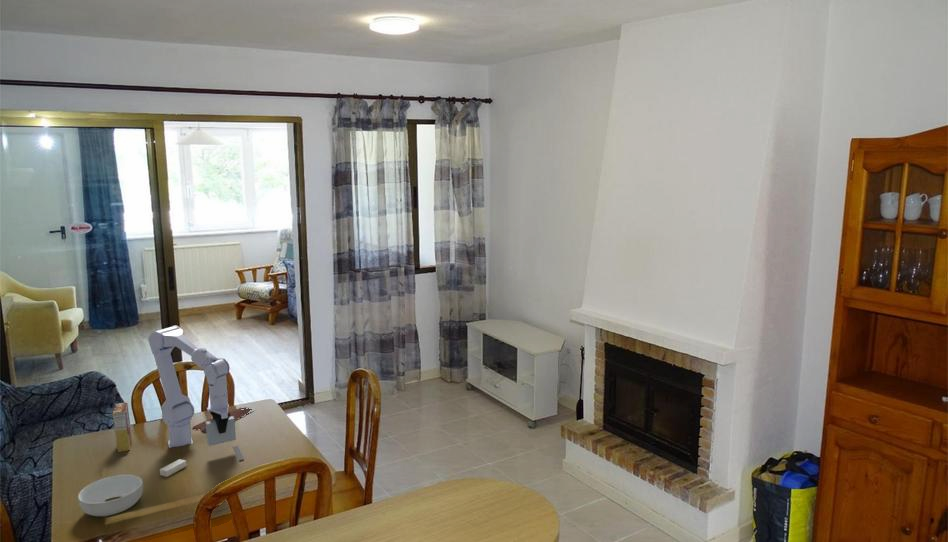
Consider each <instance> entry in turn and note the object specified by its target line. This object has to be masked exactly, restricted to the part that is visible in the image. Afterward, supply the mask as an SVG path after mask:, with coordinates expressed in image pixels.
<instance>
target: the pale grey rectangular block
mask: <svg viewBox="0 0 948 542" xmlns="http://www.w3.org/2000/svg"><path fill="white" fill-rule="evenodd" d="M206 421H207V420H206ZM206 432H207V433H206V441H207V445H208V447H211V446H215V445H220V444H224V443H228V442H232V441H233V442H234V441H236V440H237V437H236V433H237V432H236V421H235V418H234V417H233V416H231V417H229V419H228V422H227V428H226V432H225V433H221V434H219V432H218V428H217V424H216V421H215V420H212V421H207V422H206Z"/></svg>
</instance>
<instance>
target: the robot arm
mask: <svg viewBox="0 0 948 542" xmlns="http://www.w3.org/2000/svg"><path fill="white" fill-rule="evenodd" d="M147 340H148V343H149V347H150V350H151V354H152V355H153V358H154V360H155V364H156V368H157V372H158V374H159V378H160V381H161V385H162V388H163V392H164V395H165V401H164V402H163V403H162V405H161V407H160V409H161V413H162V414H161V418H162V421H163V423H164V424H165V425H166V426H167V427H168V433H169V434H168V438H169V439H168V441H167V445H168V448H176V447H183V446H186V445H190V444H193V443H194V441H193V438H192V430H191V429H192V428H191V421H192V417H194V415H195V406H194V405H193V404H192V402H191V399H190V397H188V396H186V395H184V394H183V392H182V389H181V386H180V383H179V382H180V381H179V379H178V376H177V372H176V369H175V368H176V367H175V365H174V362H173V358H172V355H171V353H172V351H173V349H174V348H175V347H176V348H178V349H179V350H181V351H183V352H184V353H186V354H187V355H188V356H190V357H191V359H190V360H191V362H192V363H194V364H195V365H197V366H198V367H199V368H200V369H202V370H203V373H204V376H205V378H206V382H207V384H208V388H209V389H208V390H209V401H210V402H209V403H210V404H209V405H210V406H209V407H206V411H207V412H209V414H210V415H211V418H213V420H215V421H216V424H217V428H218V432H219V434H221V433H225V432H226V428H227V422H228V419H229V417H230V413H228V412H229V408H230V404H229V397H228V383H227V374H229V372H230V369H231V368H230V364H229V362H228V361H227V360H226V359H225V358H223V357H216V355H213V354H212V353H210V352H209V351H208V350H207V348H205V347H204V348H203V347H200V348H199V347H197V345H195V344H194V343H193V342H192V341H191V340H190V339H189V338H188V337H187V336H185V332H184V329H182V328H181V327H180V326H178V325H176V324H175V325H171V326H169V327H165V328H161V329H158V330H153V331H152V332H150V334H149V336H148V339H147Z"/></svg>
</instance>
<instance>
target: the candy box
mask: <svg viewBox="0 0 948 542" xmlns="http://www.w3.org/2000/svg"><path fill="white" fill-rule="evenodd" d="M129 412H130V411H129V405H128V402H121V403H116V404H115V406H114V409H113V412H112V418H113V424H114V432H115V439H116V448H117V453H121V452H120V451H123V452H129V451H131V447H132V443H133V436H132V428H131V421H130V420H131V419H130V413H129ZM128 450H129V451H128Z"/></svg>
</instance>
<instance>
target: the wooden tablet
mask: <svg viewBox="0 0 948 542" xmlns="http://www.w3.org/2000/svg"><path fill="white" fill-rule="evenodd" d="M238 408H239V409H237V408H234V409H232V410H230V411H229V410H228V413H230V417H231V416H233V417H234V418H235V420H236V421H238V420H239V419H238V418H240V417H242V416H244V415H245V414H247V413H248V412H249V411H250V410H252V409H249V408H250V407H244V408H241V407H238ZM246 408H248V409H246ZM241 409H244V410H241ZM244 417H245V416H244ZM242 418H243V417H242ZM237 419H238V420H237ZM240 419H241V418H240ZM212 420H213V417H211V418H209V419H207V420H204V421H203V422H200V423H198V424H196V425H194V426H192V428H191V429H192V430H193V429H196V430H195V431H200V430H201V431H200V432H201V433H203V432H204V434H207V432H206V422H207V421H212ZM198 429H200V430H198Z"/></svg>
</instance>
